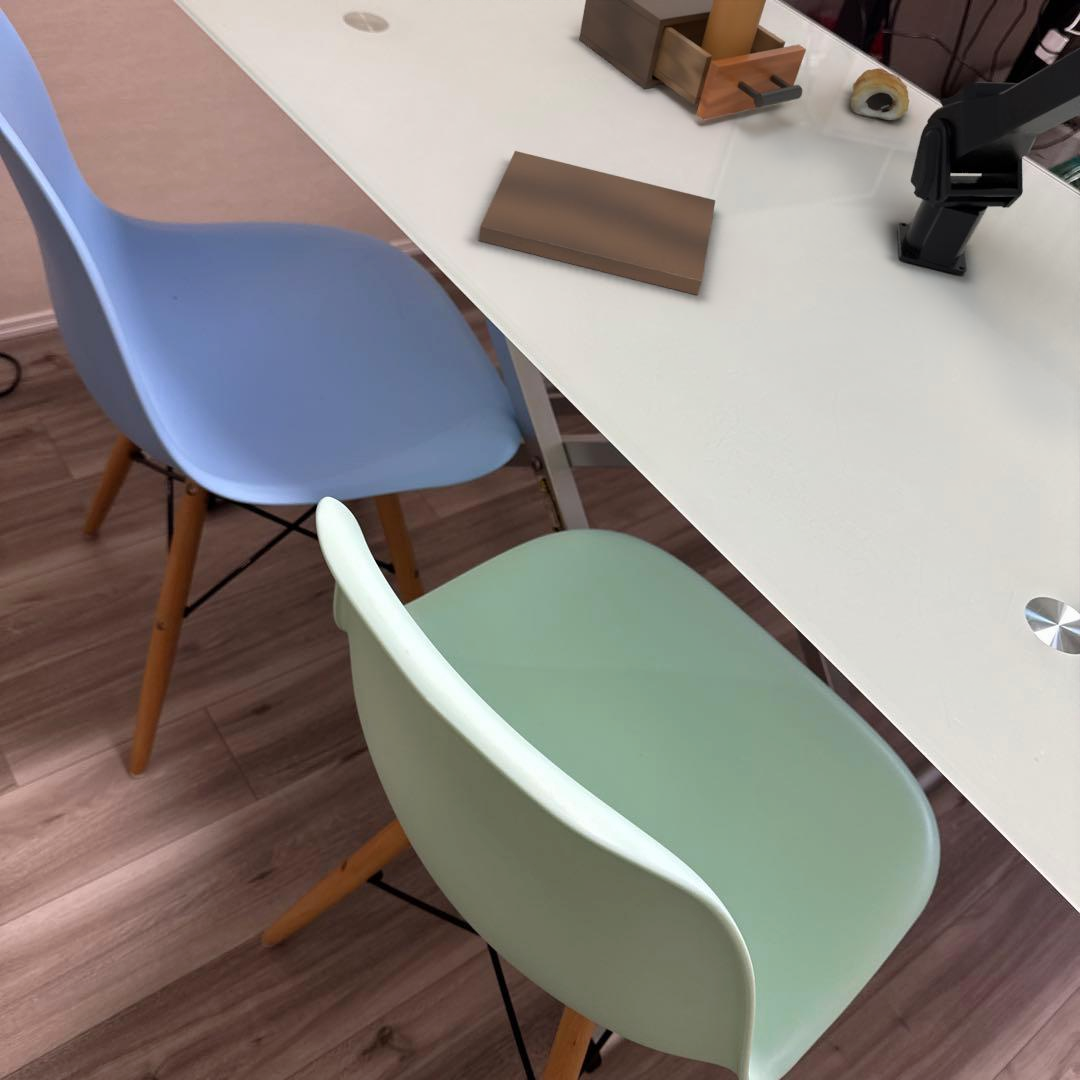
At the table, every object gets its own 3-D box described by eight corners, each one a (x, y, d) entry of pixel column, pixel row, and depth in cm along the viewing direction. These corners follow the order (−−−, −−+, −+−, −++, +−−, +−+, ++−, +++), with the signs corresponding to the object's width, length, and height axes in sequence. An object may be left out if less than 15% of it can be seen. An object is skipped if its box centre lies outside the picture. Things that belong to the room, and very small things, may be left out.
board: (697, 295, 87) (702, 281, 85) (478, 240, 87) (480, 225, 86) (711, 213, 96) (715, 199, 95) (512, 164, 96) (514, 150, 95)
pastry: (850, 79, 120) (863, 48, 118) (903, 94, 120) (917, 63, 117) (846, 112, 114) (859, 80, 111) (902, 128, 114) (917, 96, 111)
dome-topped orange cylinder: (739, 93, 109) (775, -26, 100) (691, 81, 109) (723, -38, 100) (742, 73, 112) (777, -44, 103) (696, 61, 113) (727, -56, 103)
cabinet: (736, 70, 117) (756, 4, 112) (644, 89, 111) (660, 19, 105) (670, 24, 123) (685, -41, 117) (578, 39, 116) (590, -29, 111)
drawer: (814, 118, 110) (833, 66, 106) (728, 139, 104) (745, 85, 100) (722, 55, 117) (737, 4, 113) (637, 71, 111) (649, 18, 107)
